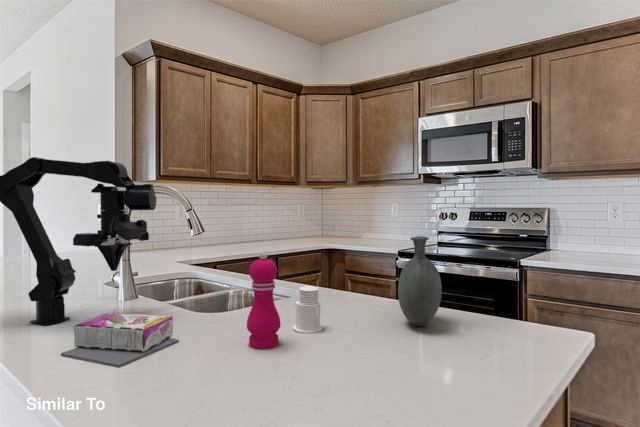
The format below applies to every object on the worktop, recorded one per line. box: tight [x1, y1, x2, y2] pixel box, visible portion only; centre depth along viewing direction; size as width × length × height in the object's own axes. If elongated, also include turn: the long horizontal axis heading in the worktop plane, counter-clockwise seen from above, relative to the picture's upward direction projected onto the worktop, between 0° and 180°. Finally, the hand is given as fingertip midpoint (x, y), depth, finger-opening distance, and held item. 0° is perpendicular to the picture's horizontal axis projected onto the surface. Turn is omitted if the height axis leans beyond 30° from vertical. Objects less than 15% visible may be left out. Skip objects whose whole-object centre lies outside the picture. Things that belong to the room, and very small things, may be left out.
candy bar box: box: [73, 312, 174, 352], centre depth 95 cm, size 11×5×16 cm
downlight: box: [292, 285, 323, 334], centre depth 106 cm, size 8×7×10 cm
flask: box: [397, 235, 443, 327], centre depth 109 cm, size 12×17×22 cm
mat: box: [60, 337, 180, 368], centre depth 92 cm, size 16×16×1 cm
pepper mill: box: [246, 251, 281, 350], centre depth 95 cm, size 7×7×20 cm
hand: (113, 270), depth 114 cm, fingers closed
